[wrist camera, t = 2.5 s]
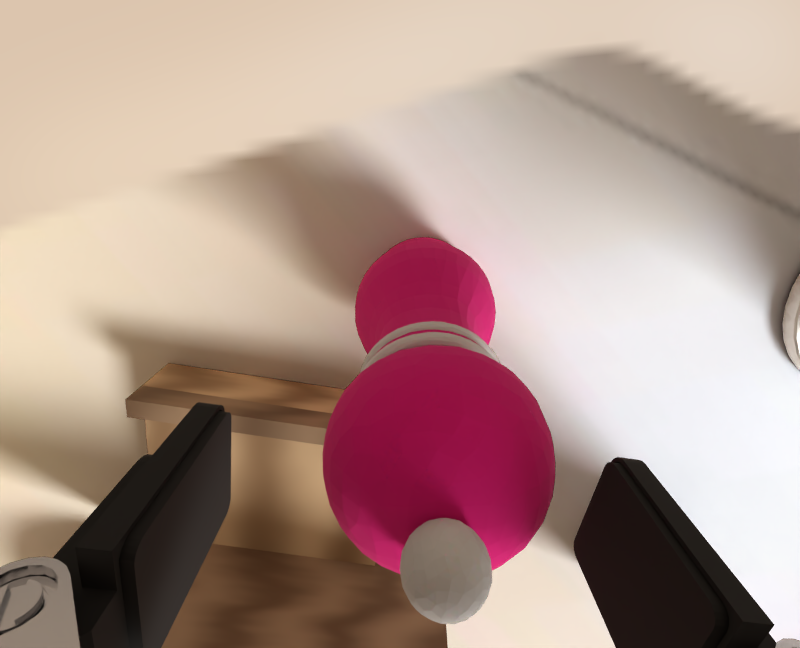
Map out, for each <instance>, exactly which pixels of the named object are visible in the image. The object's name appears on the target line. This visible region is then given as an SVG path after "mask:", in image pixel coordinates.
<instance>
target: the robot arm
mask: <svg viewBox="0 0 800 648" xmlns="http://www.w3.org/2000/svg"><path fill="white" fill-rule="evenodd" d="M783 339H784V343H785V346H786V349H787V352H788V355H789V357H790V358H791V360H792V361H793V363H794V364H795V366H796V367H797V368H798V369H799V370H800V274H799V276H798V278H797V279H796V281H795V283H794V285H793V286H792V289H791V292H790V294H789V297H788V300H787V303H786V305H785V311H784V317H783ZM231 419H232V418H231V413H230V412H225V409H224V406H222V405H217V404H210V403H202V402H198V403H196V404H195V405H194V406H193V407H192V409H191V410H190V411H189V412H188V413H187V415H186V416H185V417H184V418H183V419H182V420H181V422H180V423H179V424H178V425H177V426H176V428H175V429H174V430H173V431H172V432H171V434H170V435H169V436H168V437H167V438H166V440H165V441H164V442H163V443H162V444H161V445H160V447H159V448H158V449H157V450H156V451H155V453H154V454H153V455H151V454H147V455H145V456H143V457H141V458H140V459H139V460H138V461H137V462H136V463H135V465H134V466H133V467H132V468H131V469H130V470H129V471H128V473H127V474H126V475H125V476H124V477H123V478H122V479H121V481H120V482H119V483H118V484H117V485H116V486H115V487H114V489H113V490H112V491H111V492H110V493H109V494H108V496H107V497H106V498H105V499H104V500H103V501H102V502H101V504H100V505H99V506H98V507H97V508H96V509H95V510H94V512H93V513H92V514H91V515H90V516H89V517H88V518H87V520H86V521H85V522H84V523H83V524H82V525H81V526H80V528H79V529H78V530H77V531H76V532H75V533H74V534H73V536H72V537H71V538H70V539H69V540H68V541H67V542H66V544H65V545H64V546H63V547H62V548H61V549H60V550H59V552H58V553H57V554H56V555H55V556H54V557H53V558H49V557H33V558H26V559H22V560H19V561H15V562H11V563H9V564H7V565H4V566H2V567H0V648H161V647H162V645H163V643H164V641H165V639H166V637H167V635H168V633H169V631H170V629H171V627H172V625H173V623H174V621H175V619H176V617H177V615H178V613H179V611H180V609H181V607H182V605H183V603H184V600H185V598H186V596H187V594H188V592H189V590H190V588H191V586H192V584H193V582H194V580H195V578H196V576H197V574H198V572H199V570H200V568H201V566H202V564H203V562H204V560H205V558H206V556H207V554H208V552H209V550H210V548H211V545H212V543H213V541H214V539H215V537H216V535H217V533H218V531H219V529H220V527H221V525H222V523H223V521H224V519H225V517H226V515H227V512H228V509H229V506H230V501H231ZM574 552H575V556H576V558H577V560H578V563H579V565H580V567H581V570H582V572H583V574H584V576H585V579H586V581H587V583H588V585H589V588H590V590H591V592H592V594H593V597H594V599H595V601H596V604H597V606H598V608H599V610H600V613H601V615H602V617H603V619H604V622H605V624H606V626H607V629H608V631H609V633H610V635H611V638H612V640H613V642H614V644H615V647H616V648H800V641H799V640H796V639H782V640H780V641H778V642H777V643H776V642H775V641H774V639H773V638H772V637H771V635H770V634H769V632H770V630H771V629H772V627H773V626H774V624H773V623H772V621H771V620H770V619H769V618H768V616H767V615H766V614H765V613H764V612H763V610H762V609H761V608H760V607H759V605H758V604H757V603H756V602H755V600H754V599H753V598H752V597H751V595H750V594H749V593H748V592H747V590H746V589H745V588H744V587H743V585H742V584H741V583H740V582H739V580H738V579H737V578H736V577H735V575H734V574H733V573H732V572H731V570H730V569H729V568H728V567H727V565H726V564H725V563H724V562H723V560H722V559H721V558H720V557H719V555H718V554H717V553H716V552H715V550H714V549H713V548H712V547H711V545H710V544H709V543H708V542H707V540H706V539H705V538H704V537H703V535H702V534H701V533H700V532H699V530H698V529H697V528H696V527H695V525H694V524H693V523H692V522H691V521H690V519H689V518H688V517H687V516H686V514H685V513H684V512H683V511H682V509H681V508H680V507H679V506H678V504H677V503H676V502H675V501H674V499H673V498H672V497H671V496H670V494H669V493H668V492H667V491H666V489H665V488H664V487H663V486H662V484H661V483H660V482H659V481H658V479H657V478H656V477H655V476H654V474H653V473H652V472H651V471H650V469H649V468H648V467H647V466H646V464H645V463H644V462H642V461H640V460H635V459H628V458H620V457H617V458H615V459H613V460H612V462H609V463H607V464H606V465H605V467H604V470H603V472H602V475H601V477H600V479H599V482H598V484H597V487H596V489H595V491H594V494H593V496H592V499H591V501H590V503H589V506H588V508H587V511H586V513H585V516H584V518H583V520H582V523H581V525H580V528H579V530H578V532H577V535H576V537H575V540H574Z"/></svg>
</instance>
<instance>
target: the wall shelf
mask: <svg viewBox="0 0 800 648" xmlns="http://www.w3.org/2000/svg"><path fill="white" fill-rule="evenodd" d="M344 390H345V389H339V388H332V387H325V386H318V385H312V384H305V383H298V382H292V381H285V380H278V379H271V378H265V377H258V376H251V375H244V374H238V373H231V372H224V371H218V370H211V369H204V368H197V367H191V366H184V365H177V364H170V363H168V364H167V365H166V366H165V367H164V368H162V369H161V370H160V371H159V372H158V373H157V374H155V375H154V376H153V377H152V378H151V379H149V380H148V381H147V382H146V383H145V384H143V385H142V386H141V387H140V388H139V389H137V390H136V391H135V392H134V393H133V394H131V395H130V396H129V397H128V398H127V399H125V400H126V410H127V417H131V418H137V419H144V420H145V426H146V438H147V450H148V454H151V455H153V454H154V453H155V451H156V450H157V449H158V448H159V447H160V445H161V444H162V443H163V442H164V441H165V440H166V438H167V437H168V436H169V435H170V434H171V432H172V431H173V430H174V429H175V428H176V426H177V425H178V424H179V423H180V422H181V420H182V419H183V418H184V417H185V416H186V415H187V413H188V412H189V411H190V410H191V409H192V407H193V406H194V405H195V404H196V403H198V402H202V403H210V404H217V405H222V406H224V409H225V412H230V413H231V418H232V419H231V501H230V506H229V509H228V512H227V515H226V517H225V519H224V521H223V523H222V525H221V527H220V529H219V531H218V533H217V535H216V537H215V539H214V541H213V543H212V545H211V548H210V550H209V552H208V554H207V556H206V558H205V560H204V562H203V564H202V566H201V568H200V570H199V572H198V574H197V576H196V578H195V580H194V582H193V584H192V586H191V588H190V590H189V592H188V594H187V596H186V598H185V600H184V603H183V605H182V607H181V609H180V611H179V613H178V615H177V617H176V619H175V621H174V623H173V625H172V627H171V629H170V631H169V633H168V635H167V637H166V639H165V641H164V643H163V645H162V647H161V648H448V647H447V633H446V624H440V623H438V622H435V621H432V620H430V619H428V618H427V617H425V616H423V615H422V614H420V613H419V612H418V611H417V610H416V609H415V608H414V607H413V605H412V604H411V603H410V601H409V599H408V597H407V595H406V593H405V591H404V589H403V587H402V581H401V575H400V574H398V573H396V572H394V571H391V570H389V569H387V568H384V567H382V566H380V565H379V564H377V563H376V562H375V561H373V560H372V559H370V558H369V557H367V556H366V555H364V554H363V553H362V552H361V551H360V550H359V549H358V548H357V547H356V545H355V544H354V543H353V542H352V541H351V540H350V539H349V538H348V536H347V535H346V534H345V532H344V531H343V530H342V528H341V527H340V525H339V523H338V521H337V519H336V517H335V515H334V513H333V511H332V509H331V507H330V504H329V500H328V496H327V492H326V488H325V483H324V477H323V455H322V453H323V446H324V439H325V434H326V430H327V426H328V423H329V419H330V417H331V415H332V413H333V411H334V408H335V406H336V404H337V402H338V400H339V399H340V397H341V395H342V393H343V392H344Z"/></svg>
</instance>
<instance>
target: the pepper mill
mask: <svg viewBox="0 0 800 648" xmlns="http://www.w3.org/2000/svg"><path fill="white" fill-rule="evenodd" d="M495 313H496V312H495V302H494V297H493V294H492V290H491V287H490V284H489V281H488V279H487V277H486V275H485V273H484V272H483V270H482V269H481V268H480V266H479V265H478V264H477V263H476V262H475V261H474V260H473V259H472V258H471V257H470V256H468V255H467V254H465V253H464V252H462V251H461V250H459V249H457V248H455V247H453V246H451V245H450V244H448V243H446V242H444V241H441V240H438V239H434V238H427V237H420V238H413V239H408V240H406V241H403V242H401V243H399V244H397V245H395V246H394V247H392V248H391V249H390V250H389V251H387V252H386V253H385V254H383V255H382V256H381V257H380V258H379V259H378V260H377V261H375V262H374V263H373V264H372V266H371V267H370V268H369V270H368V271H367V272H366V274H365V275H364V277H363V279H362V282H361V284H360V286H359V289H358V293H357V297H356V305H355V322H356V327H357V331H358V335H359V337H360V339H361V342H362V344H363V346H364V348H365V350H366V352H367V356H366V358H365V360H364V363H363V365H362V368H361V370H360V374H359V375H358V376H357V377H356V378H355V379H354V380H353V381H352V382H351V384H350V385H349V386H348V387H347V388H346V389H345V390H344V392H343V393H342V395H341V397H340V399H339V400H338V402H337V404H336V406H335V408H334V411H333V413H332V415H331V417H330V419H329V423H328V426H327V430H326V434H325V439H324V446H323V453H322V455H323V477H324V483H325V488H326V492H327V496H328V500H329V504H330V507H331V509H332V511H333V513H334V515H335V517H336V519H337V521H338V523H339V525H340V527H341V528H342V530H343V531H344V532H345V534H346V535H347V536H348V538H349V539H350V540H351V541H352V542H353V543H354V544H355V545H356V547H357V548H358V549H359V550H360V551H361V552H362V553H363V554H364V555H366V556H367V557H369V558H370V559H372V560H373V561H375V562H376V563H377V564H379V565H380V566H382V567H384V568H387V569H389V570H391V571H394V572H396V573H398V574H400V575H401V581H402V587H403V589H404V591H405V593H406V595H407V597H408V599H409V601H410V603H411V604H412V605H413V607H414V608H415V609H416V610H417V611H418V612H419V613H420V614H422V615H423V616H425V617H427V618H428V619H430V620H432V621H435V622H438V623H440V624H456V623H459V622H462V621H465V620H467V619H469V618H470V617H471V616H473V615H474V614H475V613H476V612H477V611H478V610H479V609H480V608H481V607H482V605H483V604H484V602H485V600H486V599H487V597H488V593H489V590H490V587H491V583H492V570H494V569H496V568H498V567H500V566H501V565H503V564H504V563H505V562H507V561H508V560H509V559H511V558H512V557H514V556H515V555H516V554H518V553H519V552H520V551H522V550H523V549H524V548H525V547H526V546H527V544H528V543H529V542H530V540H531V539H532V537H533V536H534V535H535V533H536V532H537V530H538V529H539V528H540V526H541V525H542V523H543V522H544V519H545V516H546V513H547V511H548V508H549V505H550V502H551V499H552V497H553V490H554V482H555V456H554V448H553V441H552V437H551V432H550V430H549V427H548V425H547V423H546V420H545V418H544V416H543V414H542V411H541V409H540V407H539V405H538V402H537V400H536V399H535V397H534V396H533V395H532V393H531V392H530V391H529V389H528V388H527V387H526V386H525V385H524V383H523V382H522V381H521V380H520V379H519V378H518V377H517V376H516V375H515V374H514V373H513V372H512V371H510V370H509V369H507V368H506V367H505V366H503V365H502V364H500V362H499V360H498V357H497V356H496V354H495V353H494V351H493V350H492V349H491V348H490V347H489V346H488V344H489V342H490V339H491V335H492V331H493V328H494V323H495Z"/></svg>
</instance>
